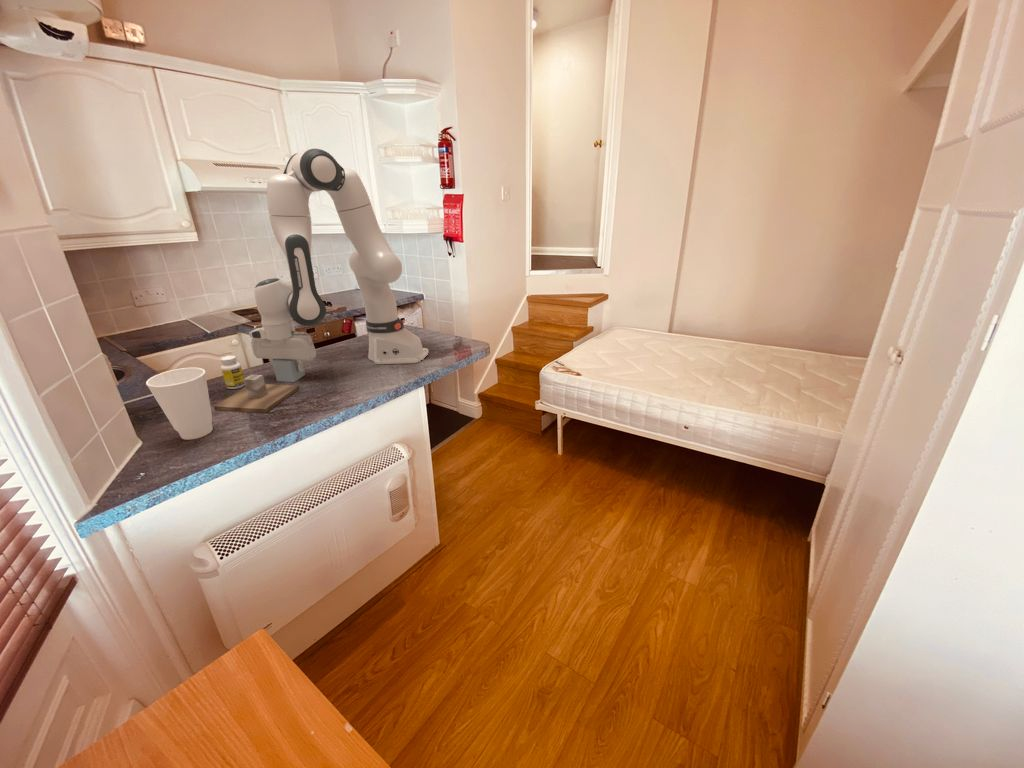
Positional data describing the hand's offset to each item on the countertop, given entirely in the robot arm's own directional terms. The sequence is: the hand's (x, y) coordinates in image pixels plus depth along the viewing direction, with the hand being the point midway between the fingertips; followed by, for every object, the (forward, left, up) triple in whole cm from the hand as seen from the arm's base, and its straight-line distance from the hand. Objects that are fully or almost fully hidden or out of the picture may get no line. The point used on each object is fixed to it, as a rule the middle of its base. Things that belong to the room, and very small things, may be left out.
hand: (289, 370), depth 141 cm
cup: (+3, +36, -3) cm, 36 cm away
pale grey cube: (0, 0, -3) cm, 3 cm away
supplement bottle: (+14, +8, -3) cm, 16 cm away
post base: (0, +16, -3) cm, 16 cm away
